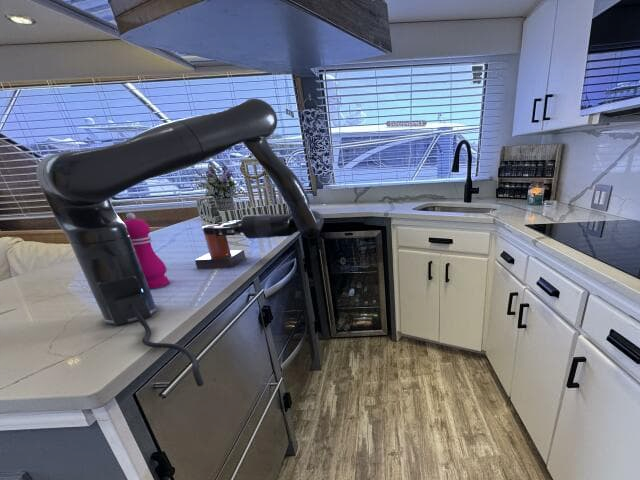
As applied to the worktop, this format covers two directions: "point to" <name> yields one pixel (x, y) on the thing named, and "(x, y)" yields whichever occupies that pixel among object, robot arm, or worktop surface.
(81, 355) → the worktop surface
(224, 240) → the cup
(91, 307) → the worktop surface
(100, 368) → the worktop surface
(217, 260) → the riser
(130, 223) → the pepper mill
